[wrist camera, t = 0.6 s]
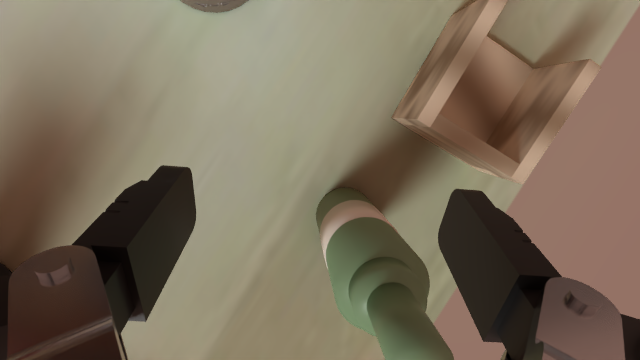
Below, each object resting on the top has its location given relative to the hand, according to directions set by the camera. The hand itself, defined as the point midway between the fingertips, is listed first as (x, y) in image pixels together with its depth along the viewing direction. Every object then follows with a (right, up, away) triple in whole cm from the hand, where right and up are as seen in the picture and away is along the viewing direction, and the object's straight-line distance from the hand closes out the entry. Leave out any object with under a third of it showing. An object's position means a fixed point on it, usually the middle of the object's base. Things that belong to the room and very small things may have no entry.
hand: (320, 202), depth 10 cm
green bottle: (+2, -3, +23) cm, 23 cm away
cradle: (+14, +9, +21) cm, 27 cm away
